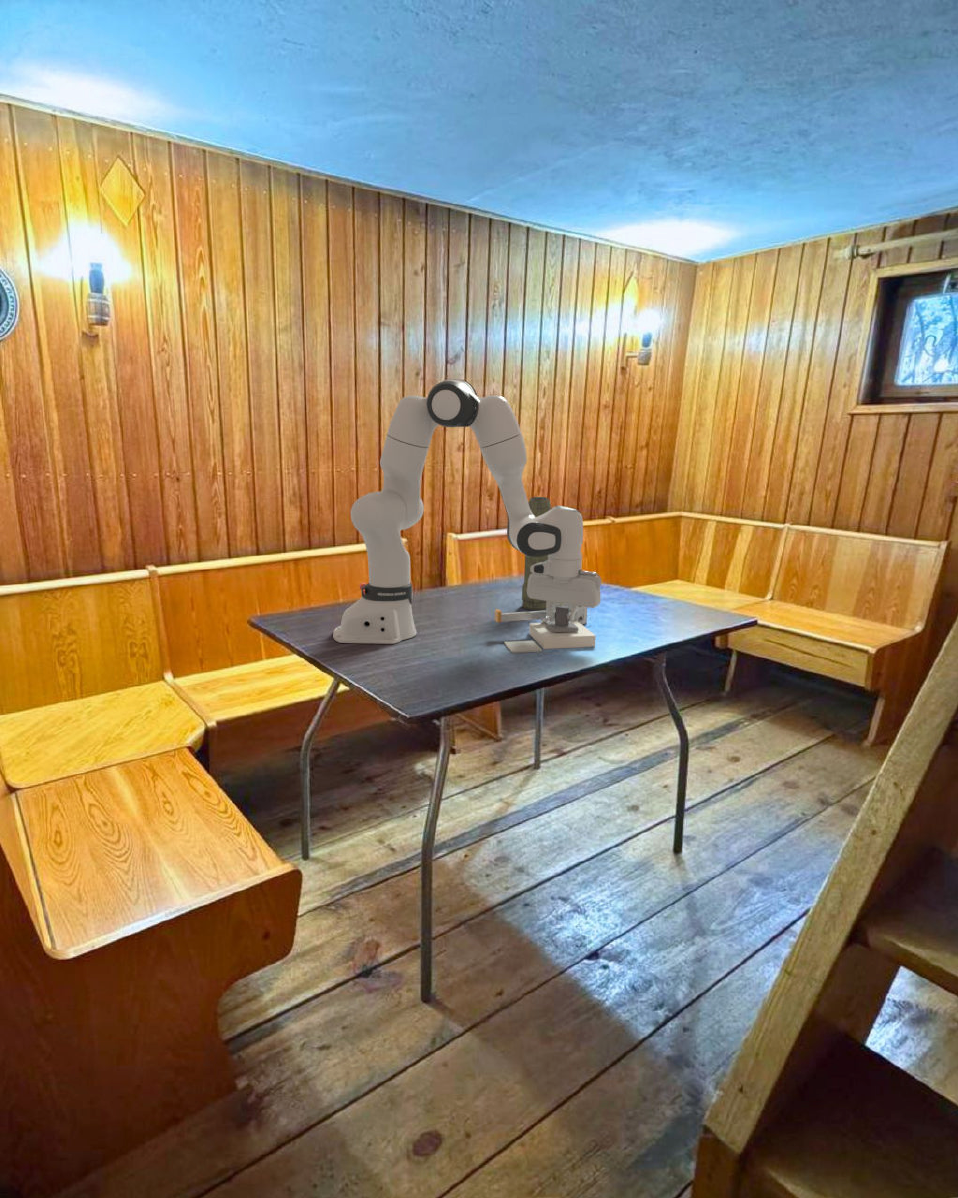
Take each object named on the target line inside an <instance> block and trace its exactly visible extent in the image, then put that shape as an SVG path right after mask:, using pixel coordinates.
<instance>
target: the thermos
mask: <svg viewBox="0 0 958 1198" xmlns="http://www.w3.org/2000/svg"><path fill="white" fill-rule="evenodd" d="M528 504H529V507H530V510H531V512H532V513H533V514H534V516H535V517H538V516H540V515H542V514H544V513H546V512H548V511H549V510H551V509H552V505H551V504H552V503H551V501H550V499H549V498H548V497H546V496H532V497H531V498H529V500H528ZM546 560H548V555H545V556H539V557H529V556H526V555H524V573H523V574H524V575H523V576H524V577H523V579H524V580H523V584H522V585H521V586H522V587H521V600H522V605H521V608H522V609H524V610H528V611H546V601H544V600H538V599H532V598H529V596H528V595H527V585H528V579H529V576H530V575H531V574H532V572H531V570H530V568H531V566H532V565H534V564H536V563H540V562H543V561H546Z"/></svg>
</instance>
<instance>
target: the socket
mask: <svg viewBox="0 0 958 1198" xmlns="http://www.w3.org/2000/svg"><path fill="white" fill-rule="evenodd" d="M572 623H573V624H575V625H576V626H577V627H578V631H576V632H552V631H551V630H550V629H549V628H548V627H547V626H546V624H542V623H541V622H530V623H529V630H528V632H529V633H528V634H529V636H531V637H532V638H533V640H534V641H535V642H536V643H537V645H538V646H539V647H540V648H541V649H542V650H550V649H551V650H552V649H553V650H554V649H572V648H590V647H591V648H594V647H595V646H596V634H594V633H593V632H592V631H590V630H589V629H588V628H586V627H585V626H584V624H583V625H582V624H580V623H579V622H578V621H577V622H572Z"/></svg>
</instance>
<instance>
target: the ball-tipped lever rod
mask: <svg viewBox="0 0 958 1198" xmlns="http://www.w3.org/2000/svg"><path fill="white" fill-rule="evenodd" d="M546 613H547V612H546V610H529V611H516V612H514V611H513V612H502V610H500V609H498V608H496V609H495V610H494V621H495V622H497V623H504V622H515V621H533V620H540V623H542V624H546V622H550V616H546Z"/></svg>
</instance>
